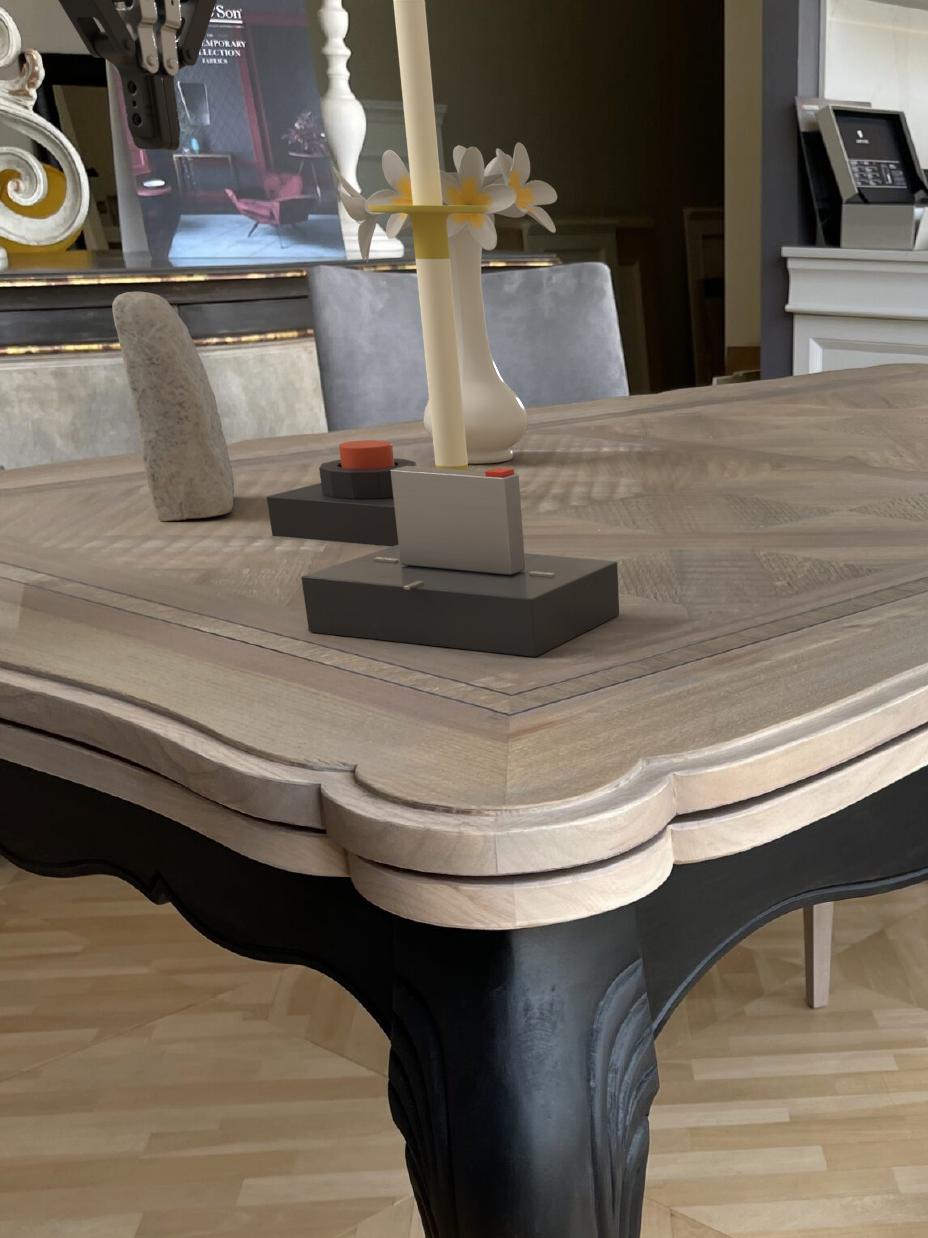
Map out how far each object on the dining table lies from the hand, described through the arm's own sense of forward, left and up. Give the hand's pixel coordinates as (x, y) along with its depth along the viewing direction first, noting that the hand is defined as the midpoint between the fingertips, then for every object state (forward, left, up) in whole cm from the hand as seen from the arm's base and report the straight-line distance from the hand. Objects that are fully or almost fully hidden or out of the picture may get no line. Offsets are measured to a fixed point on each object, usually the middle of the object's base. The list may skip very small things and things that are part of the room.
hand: (157, 149), depth 91 cm
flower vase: (-6, +42, -24) cm, 48 cm away
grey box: (+25, -11, -20) cm, 34 cm away
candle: (+3, +24, -24) cm, 34 cm away
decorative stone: (-12, +12, -24) cm, 29 cm away
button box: (+5, +10, -23) cm, 26 cm away
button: (+5, +10, -19) cm, 22 cm away
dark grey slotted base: (+25, -11, -23) cm, 36 cm away
